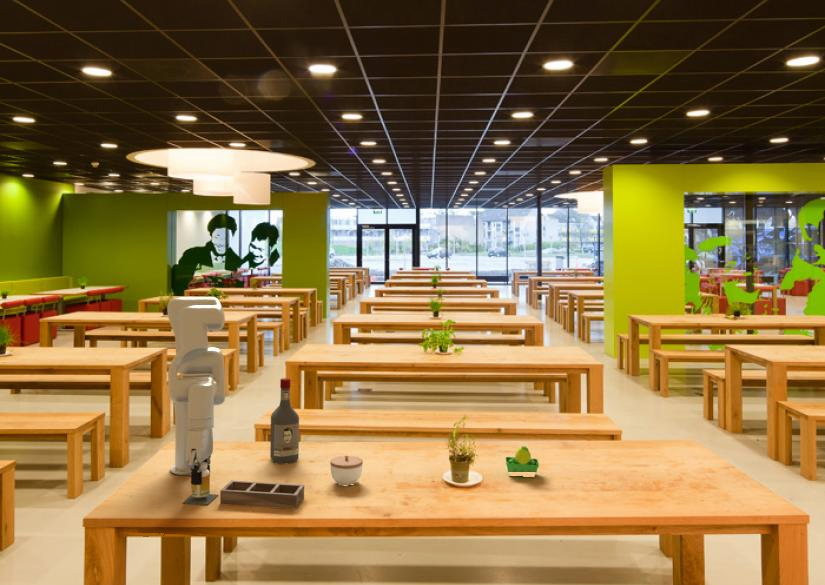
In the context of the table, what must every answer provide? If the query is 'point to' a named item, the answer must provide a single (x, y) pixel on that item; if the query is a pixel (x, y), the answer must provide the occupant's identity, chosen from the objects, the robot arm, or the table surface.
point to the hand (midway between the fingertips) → (200, 480)
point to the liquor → (284, 429)
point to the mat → (200, 500)
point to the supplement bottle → (205, 486)
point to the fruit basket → (522, 461)
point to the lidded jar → (346, 469)
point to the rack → (262, 494)
